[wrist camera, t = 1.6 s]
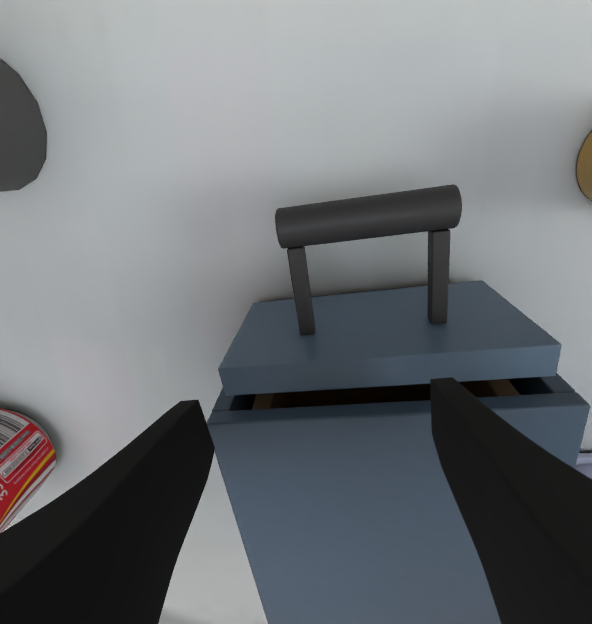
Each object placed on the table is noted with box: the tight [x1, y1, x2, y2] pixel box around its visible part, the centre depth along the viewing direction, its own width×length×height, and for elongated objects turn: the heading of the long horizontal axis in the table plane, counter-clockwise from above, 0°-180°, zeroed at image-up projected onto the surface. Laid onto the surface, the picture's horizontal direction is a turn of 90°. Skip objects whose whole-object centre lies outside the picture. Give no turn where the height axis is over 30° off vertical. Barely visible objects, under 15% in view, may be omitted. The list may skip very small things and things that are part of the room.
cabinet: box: [207, 373, 590, 624], centre depth 18 cm, size 13×12×8 cm
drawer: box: [218, 185, 561, 410], centre depth 16 cm, size 17×11×6 cm, turn 8°
